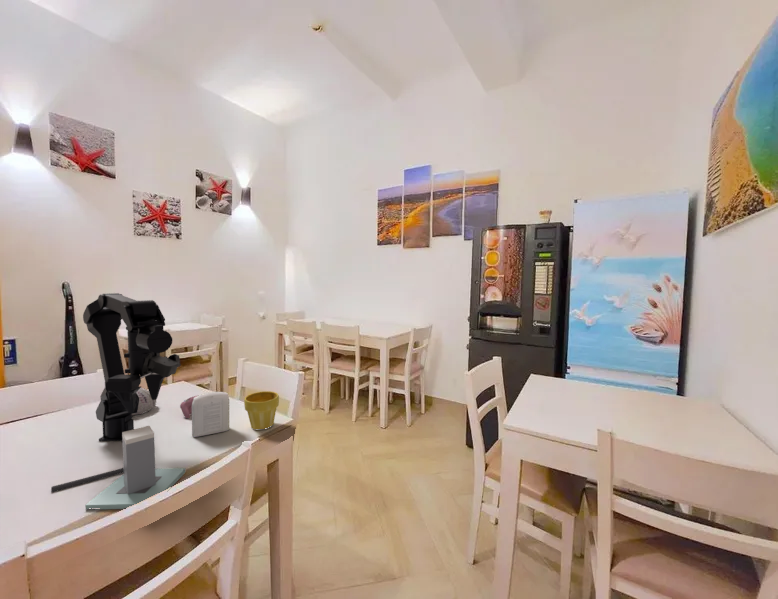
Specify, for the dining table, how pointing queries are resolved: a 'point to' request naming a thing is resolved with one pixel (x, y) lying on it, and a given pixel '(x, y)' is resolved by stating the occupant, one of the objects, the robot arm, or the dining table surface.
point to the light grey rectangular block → (138, 459)
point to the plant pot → (261, 408)
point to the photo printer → (210, 413)
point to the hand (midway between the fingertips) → (143, 405)
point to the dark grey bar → (86, 479)
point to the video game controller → (187, 407)
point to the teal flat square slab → (119, 498)
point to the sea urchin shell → (144, 401)
